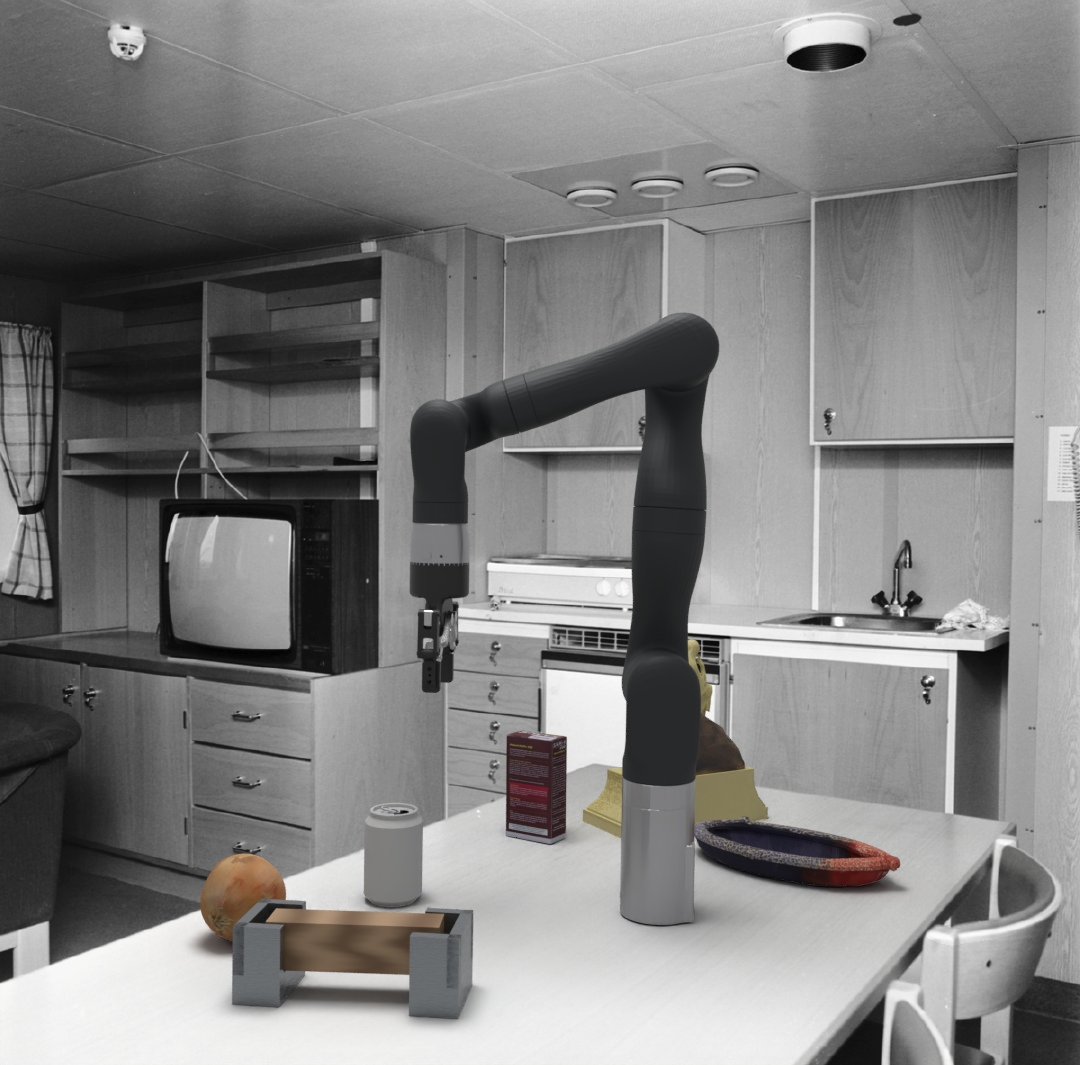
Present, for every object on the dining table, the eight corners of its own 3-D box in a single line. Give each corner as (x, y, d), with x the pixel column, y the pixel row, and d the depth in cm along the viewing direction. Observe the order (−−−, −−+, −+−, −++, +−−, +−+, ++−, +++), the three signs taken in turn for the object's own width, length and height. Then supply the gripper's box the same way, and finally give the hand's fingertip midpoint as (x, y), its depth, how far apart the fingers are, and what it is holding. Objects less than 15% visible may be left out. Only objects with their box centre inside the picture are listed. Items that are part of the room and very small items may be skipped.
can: (411, 911, 146) (412, 817, 146) (355, 906, 147) (356, 813, 147) (429, 892, 153) (430, 802, 153) (375, 887, 155) (376, 798, 154)
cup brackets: (472, 984, 124) (473, 910, 124) (458, 1018, 116) (459, 939, 115) (260, 971, 127) (261, 898, 126) (232, 1004, 118) (232, 926, 118)
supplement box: (567, 838, 179) (569, 735, 179) (550, 845, 175) (552, 740, 175) (520, 829, 184) (522, 729, 183) (503, 836, 180) (505, 734, 179)
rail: (443, 960, 123) (444, 913, 123) (438, 976, 119) (439, 927, 119) (275, 955, 124) (276, 908, 123) (265, 970, 120) (265, 922, 119)
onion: (299, 927, 140) (300, 845, 140) (263, 959, 130) (264, 870, 130) (225, 920, 142) (226, 839, 142) (184, 951, 132) (185, 864, 132)
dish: (721, 838, 181) (722, 806, 181) (915, 879, 162) (916, 844, 162) (669, 861, 169) (669, 827, 169) (872, 909, 150) (873, 871, 150)
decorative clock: (718, 801, 203) (721, 631, 202) (767, 819, 192) (771, 638, 191) (582, 821, 189) (585, 638, 188) (627, 842, 178) (630, 647, 177)
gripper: (458, 562, 139) (457, 697, 139) (478, 557, 153) (476, 679, 154) (397, 561, 140) (395, 695, 140) (422, 556, 154) (421, 678, 154)
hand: (438, 687), depth 147 cm, fingers open, 8 cm apart
